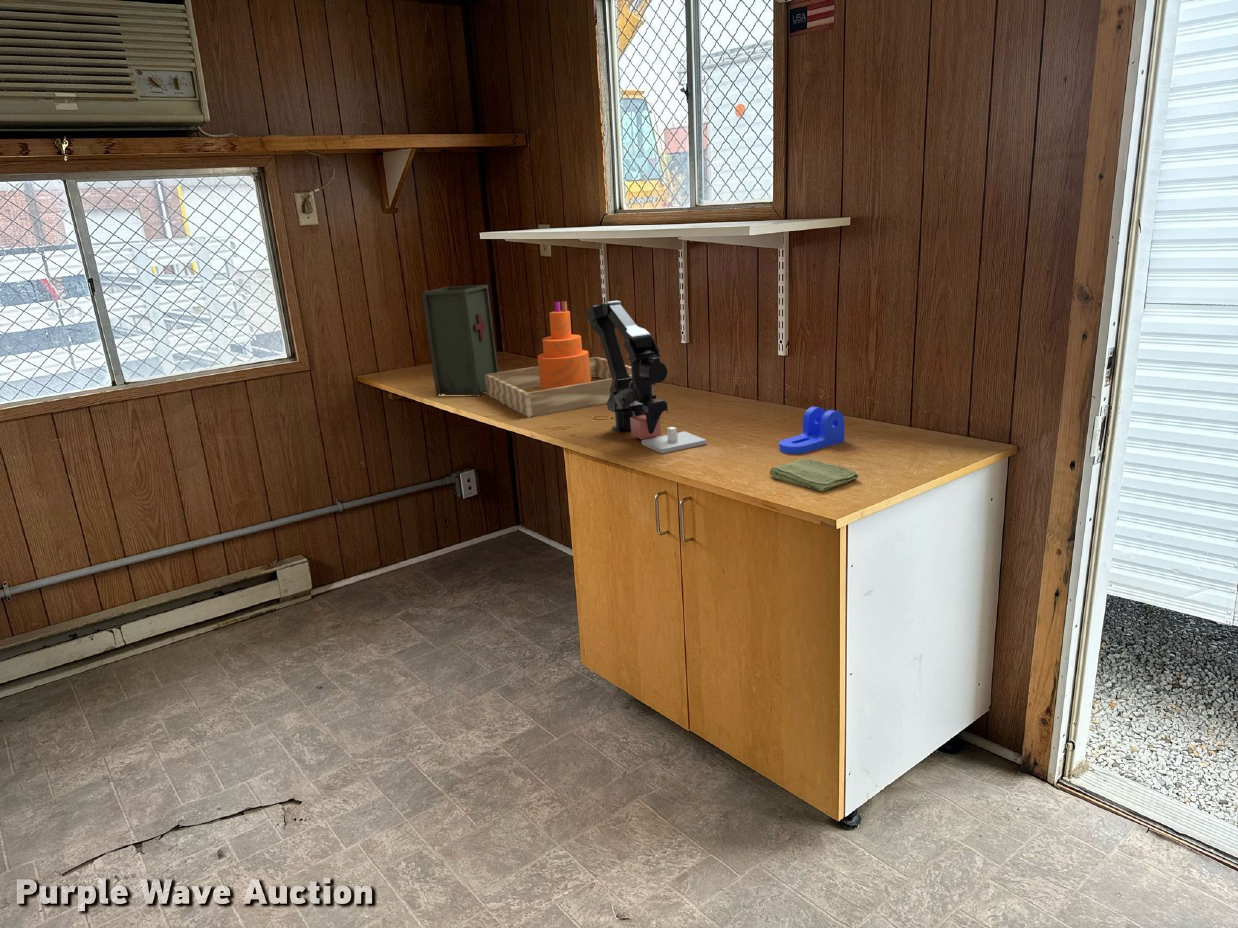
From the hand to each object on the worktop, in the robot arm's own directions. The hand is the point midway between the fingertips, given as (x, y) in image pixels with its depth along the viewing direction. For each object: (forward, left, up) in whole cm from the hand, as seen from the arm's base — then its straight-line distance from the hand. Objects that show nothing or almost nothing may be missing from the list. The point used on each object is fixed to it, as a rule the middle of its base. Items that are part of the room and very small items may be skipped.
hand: (645, 430), depth 242 cm
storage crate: (-74, +5, -2) cm, 74 cm away
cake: (-74, +5, -2) cm, 74 cm away
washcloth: (+59, +14, -3) cm, 61 cm away
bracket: (+36, +30, -3) cm, 47 cm away
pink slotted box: (0, 0, -1) cm, 1 cm away
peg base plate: (+11, +3, -2) cm, 12 cm away
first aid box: (-111, -22, -2) cm, 113 cm away
